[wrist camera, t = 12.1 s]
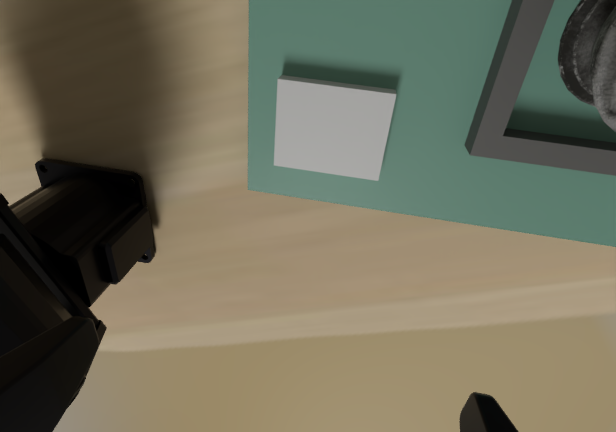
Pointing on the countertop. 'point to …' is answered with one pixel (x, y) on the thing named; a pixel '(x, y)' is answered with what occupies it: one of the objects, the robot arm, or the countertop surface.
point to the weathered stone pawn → (591, 56)
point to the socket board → (428, 113)
